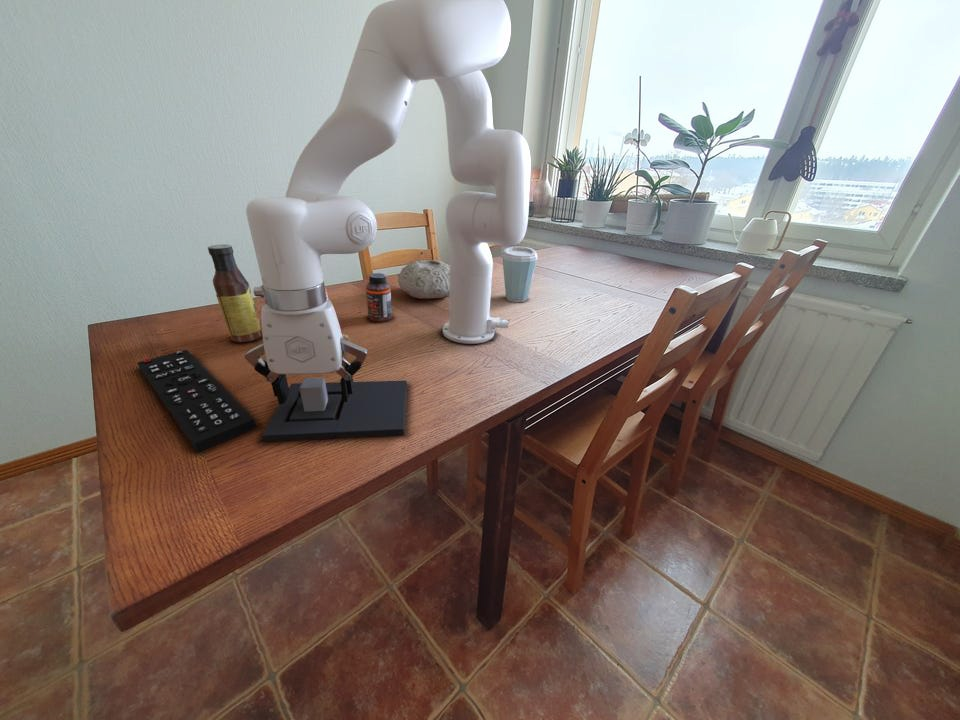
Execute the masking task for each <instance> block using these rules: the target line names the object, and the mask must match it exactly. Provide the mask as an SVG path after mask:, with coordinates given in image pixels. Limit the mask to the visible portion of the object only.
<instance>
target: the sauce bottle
mask: <svg viewBox="0 0 960 720" xmlns="http://www.w3.org/2000/svg"><path fill="white" fill-rule="evenodd" d="M207 250H208V255H210V257H211V259H212V263H213V267H214V270H215V271H214V275H213V278H212V284H213V287H214V290H215V293H216V295H215V296H216V299H217V303H218V305H219V308H220V311H221V315H222V318H223V321H224V323H225V326H226V327H225V328H226V329H227V333H228V335H229V337H230V339H231V341H232V342H235V343H243V344H245V343H249V342H254V341H256V340H259V339H260V338H261V337H262V336H263V334H262V324H261V322H260V319H259V315H258V312H257V308H256V305H255V301H254V297H253V293H252V291H251V286H250V284H249V281H247V279H246V277H245V276H244V274H243V273H242V272H241V270H240V269H239V268H238V264H237V262H236V259H235V256H234V248H233V246H232V245H231V244H223V243H222V244H213V245H209V246H207Z"/></svg>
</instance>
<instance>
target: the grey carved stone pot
mask: <svg viewBox="0 0 960 720" xmlns="http://www.w3.org/2000/svg"><path fill="white" fill-rule="evenodd" d="M397 283H398V286H399V289H400V290H401V291H403V292H405V293H406V294H408V295H409V296H410V297H411V298H415V299H419V300H424V299H428V300H430V299H441V298H442V299H443V298H446V297H450V264H447V263H446V262H444V261H441V260H438V259H431V260H429V259H428V260H425V259H419V260H414V261H410V263H408V264H406V265H404V267H402V268H401V271H400V272H399V273H398V274H397Z"/></svg>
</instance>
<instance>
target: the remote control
mask: <svg viewBox="0 0 960 720" xmlns="http://www.w3.org/2000/svg"><path fill="white" fill-rule="evenodd" d="M136 364H137V365H138V368H139V370H140V372H141V373H142V374H143V376H144V378H145V379H146V380H147V382H148V383H149V385H150V386H151V388H152V389H153V390H154V392H155V393H156V395H157V396H158V398H159V399H160V401H161V402H162V403H163V405H164V407H165V408H166V409H167V411H168V412H169V413H170V415H171V417H172V418H173V419H174V421H175V422H176V424H177V425H178V426H179V428H180V430H181V432H183V433H184V436H186V438H187V440H188V441H189V442H190V444H191V445H192V447H193V448H194V449H195V452H197V453H201V452H203V451H206V450H207V449H210V448H212V447H214V446H217V445H219V444H222V443H224V442H227V441H229V440H231V439H233V438H235V437H238V436H240V435H243V434H245V433H247V432H249V431H252V430H254V429H257V424H256V421H255V418H253V417H252V416H251V414H250V413H249V412H248V411H246V410H245V408H244V407H243V406H242V405H241V404H240V403H239V402H238V401H237V400H236V399H235V398H234V397H233V396H232V395H231V394H230V393H229V391H227V390H226V388H224V386H222V385H221V383H220V382H219V381H218V380H217V379H216V378H214V376H213V375H212V374H211V373H210V372H209V371H208V370H207V368H206V367H204V366H203V365H202V364H201V363H200V361H198V359H196V358H195V356H193V355H192V354H191V352H190V351H189V350H187V349H182V350H177V351H175V352H171V353H168V354H164V355H161V356H156V357H153V358H146V359H144V360H141V361H138V362H136Z"/></svg>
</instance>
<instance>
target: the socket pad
mask: <svg viewBox="0 0 960 720" xmlns="http://www.w3.org/2000/svg"><path fill="white" fill-rule="evenodd" d="M301 384H302V382H300V383H299V382H296V383H295V382H294V383H290V385H289V386H288V387H289V391H290V394H289V396H288V398H287V400H286V402H285V403H284V404H279V403H278V406H277V408H276V409H275V411H274V413H273V415H272V416H271V419H270V420H269V422H268V423H267V426H266V427H265V429H264V430H263V433H262V434H261V438H262V442H263V443H268V442H286V441H287V442H289V441H290V442H291V441H309V440H329V439H346V438H347V439H349V438H350V439H351V438H370V437H371V438H372V437H390V436H391V437H393V436H404V435H405V427H406V426H405V425H406V412H407V411H406V409H407V393H408V381H407V380H373V381H372V380H371V381H353V385H354V392H353V394H350V397H349V400H348V402H344V401H343V404H342V408H341V410H340V414H339V417H338V419H336V420H321V421H297V422H290V420H289V419H290V417H291V415H292V413H293V411H294V409H295V407H296V405H297V403H298V401H299V399H300V397H301V393H300V386H301ZM325 384H326V390H327V395H330V394H341V395H342V390H341V384H340V381H339V382H338V381H337V382H334V381H333V382H332V381H331V382H325Z"/></svg>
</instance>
